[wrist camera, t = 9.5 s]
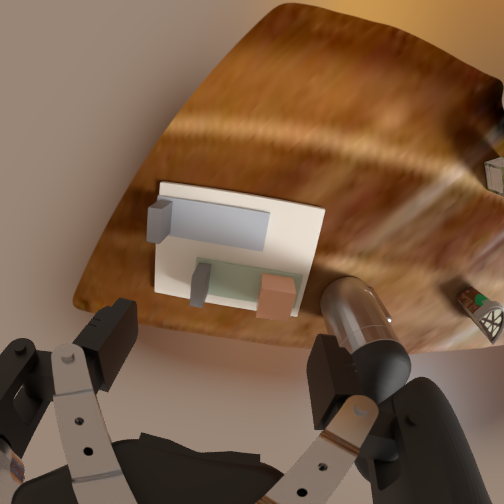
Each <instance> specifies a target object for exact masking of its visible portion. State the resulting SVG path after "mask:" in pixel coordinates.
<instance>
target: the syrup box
mask: <svg viewBox="0 0 504 504" xmlns="http://www.w3.org/2000/svg"><path fill="white" fill-rule="evenodd" d="M484 166H485V172H486V180H487V188H488V191H491V192H493V193H496V194H498V195H501V196H504V158H503V157H499V158H496V159H493V160H490V161H487V162H484Z"/></svg>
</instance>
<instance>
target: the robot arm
mask: <svg viewBox="0 0 504 504" xmlns="http://www.w3.org/2000/svg"><path fill="white" fill-rule="evenodd" d="M320 307H321V311H322V314H323V318H324V322H325V325H326V328H327V332H328V335H327V334H318V335H317V337H316V340H315V343H314V345H313V348H312V351H311V353H310V356H309V359H308V362H307V379H308V385H309V392H310V399H311V407H312V414H313V422H314V429H315V430H324V431H322V432H321V434H320V435H319V436H318V437H317V438H316V440H315V441H314V442H313V443H312V444H311V446H310V447H309V448H308V449H307V450H306V452H305V453H304V454H303V455H302V456H301V457H300V459H299V460H298V461H297V462H296V463H295V464H294V465H293V467H291V469H290V470H289V471H288V472H287V473H286V474H285V475H284V474H283V473H282V472H280V471H279V470H277V469H276V468H274V467H272V466H270V465H267V464H265V463H261V462H260V454H249V453H240V452H233V451H227V452H207V453H206V452H205V453H200V452H196V451H193V450H191V449H189V448H186V447H184V446H182V445H180V444H178V443H175V442H173V441H171V440H168V439H164V438H161V437H157V436H153V435H149V434H146V433H141V435H140V438H139V439H127V440H121V441H116V442H113V443H112V440H111V438H110V435H109V433H108V430H107V427H106V424H105V422H104V419H103V416H102V413H101V410H100V406H99V403H98V400H97V397H96V394H97V392H98V391H99V389H100V390H102V391H105V392H108V391H109V389H110V387H111V386H112V384H113V382H114V380H115V378H116V376H117V374H118V373H119V371H120V369H121V367H122V365H123V363H124V362H125V360H126V358H127V356H128V354H129V353H130V351H131V349H132V347H133V345H134V344H135V342H136V339H137V335H138V319H137V304H136V302H135V301H132V300H128V299H124V298H119V299H118V300H117V301H116V302H115V303H114V305H113V306H112V307H110V306H106V307H104V308H103V309H101V310H99V311H98V312H97V313H96V314H95V316H94V317H93V319H91V321H90V322H89V323H88V325H86V326H85V328H84V329H83V330H82V331H81V333H80V334H79V335H78V337H77V338H76V339H75V340H74V341H73V343H72V344H62V345H60V346H58V347H57V348H55V349H54V350H53V352H48V351H39V350H36V348H35V345H34V343H33V342H32V341H31V340H29V339H26V338H19V339H16V340H14V341H12V342H11V343H10V344H9V345H8V346H7V347H6V348H5V350H4V351H3V352H2V353H1V355H0V504H325V503H326V502H327V500H328V499H329V497H330V496H331V495H332V493H333V492H334V491H335V489H336V488H337V486H338V485H339V484H340V482H341V480H342V479H343V478H344V476H345V475H346V473H347V472H348V470H349V468H350V467H351V466H352V464H353V462H354V463H355V465H356V467H357V469H358V470H359V472H360V473H361V474H362V476H363V477H364V478H365V479H366V480H368V481H369V482H370V483H371V490H372V498H373V504H492V502H491V500H490V498H489V495H488V493H487V490H486V488H485V485H484V483H483V480H482V477H481V475H480V472H479V469H478V467H477V464H476V461H475V459H474V456H473V454H472V452H471V449H470V447H469V444H468V442H467V439H466V437H465V435H464V432H463V430H462V428H461V426H460V423H459V421H458V419H457V417H456V415H455V413H454V411H453V409H452V407H451V405H450V403H449V401H448V400H447V398H446V397H445V395H444V394H443V392H442V391H441V390H440V388H439V387H438V386H437V385H436V384H435V383H434V382H433V381H431V380H430V379H428V378H425V377H418V378H415V379H413V380H412V381H410V382H408V383H407V384H406V382H407V380H408V378H409V375H410V372H411V361H410V358H409V356H408V354H407V352H406V350H405V348H404V347H403V345H402V343H401V342H400V340H399V338H398V336H397V335H396V333H395V331H394V330H393V328H392V326H391V325H390V322H391V319H392V318H391V316H390V314H389V313H388V311H387V309H386V308H385V306H384V305H383V303H382V302H381V300H380V298H379V297H378V295H377V294H376V292H375V291H374V289H373V288H369V287H368V286H367V285H366V284H365V283H364V282H363V281H362V280H360V279H358V278H355V277H344V278H340V279H337V280H335V281H334V282H332V283H331V284H329V285H328V286H327V287H326V289H325V290H324V291H323V293H322V296H321V299H320ZM405 384H406V385H405ZM21 386H22V388H21V389H20V387H21ZM19 389H20V391H19ZM18 391H19V392H18ZM17 392H18V394H17V395H16V393H17ZM15 395H16V397H15ZM14 397H15V399H14ZM51 401H53V402H54V407H55V412H56V418H57V423H58V428H59V432H60V437H61V440H62V445H63V449H64V453H65V456H66V460H67V463H68V464H67V465H65V466H62V467H60V468H58V469H56V470H54V471H51V472H49V473H46V474H44V475H42V476H39V477H37V478H34V479H31V480H29V481H26V482H25V483H23V481H24V479H25V476H24V471H25V470H24V464H23V462H22V460H21V459H22V457H23V455H24V452H25V450H26V448H27V446H28V444H29V442H30V440H31V438H32V436H33V434H34V432H35V430H36V428H37V426H38V424H39V422H40V420H41V418H42V416H43V414H44V413H45V411H46V409H47V407H48V405H49V404H50V402H51Z"/></svg>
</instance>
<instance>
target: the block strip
mask: <svg viewBox="0 0 504 504" xmlns="http://www.w3.org/2000/svg"><path fill="white" fill-rule="evenodd" d="M262 273H265V274H271V275H277V276H284V277H290V278H293V279H294V284H295V289H296V297H295V301H294V304H293V308H295V305H296V301H297V298H298V294H299V290H300V287H301V283H302V279H303V275H299V274H293V273H287V272H281V271H275V270H269V269H263V268H257V267H251V266H245V265H239V264H233V263H227V262H222V261H216V260H210V259H204V258H199V257H197V258H196V265H195V271H194V273H193V275H192V279H191V292H190V306H194V307H200V308H203V305H204V302H205V300H206V297H207V294H209V295H214V296H220V297H226V298H231V299H237V300H243V301H249V302H255V303H256V301H257V295H258V290H259V286H260V281H261V276H262Z"/></svg>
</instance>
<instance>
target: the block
mask: <svg viewBox="0 0 504 504" xmlns="http://www.w3.org/2000/svg"><path fill="white" fill-rule="evenodd" d="M295 297H296V289H295V284H294V279H293V278H290V277H284V276H277V275H271V274H265V273H262V276H261V281H260V286H259V290H258V295H257V301H256V317H258V318H264V319H271V320H278V321H285V322H289V318H290V315H291V311H292V308H293V304H294V301H295Z"/></svg>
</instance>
